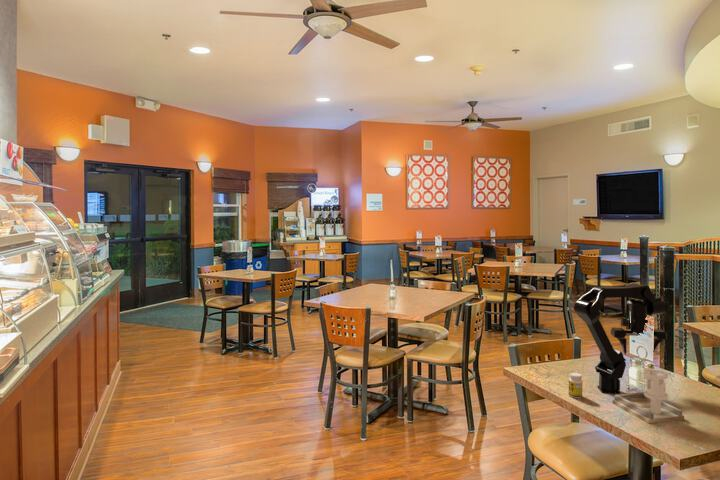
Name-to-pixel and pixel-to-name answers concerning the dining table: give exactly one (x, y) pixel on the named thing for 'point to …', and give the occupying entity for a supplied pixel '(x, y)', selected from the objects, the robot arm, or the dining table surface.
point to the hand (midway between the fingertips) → (637, 354)
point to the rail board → (646, 408)
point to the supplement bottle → (575, 385)
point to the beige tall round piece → (655, 388)
